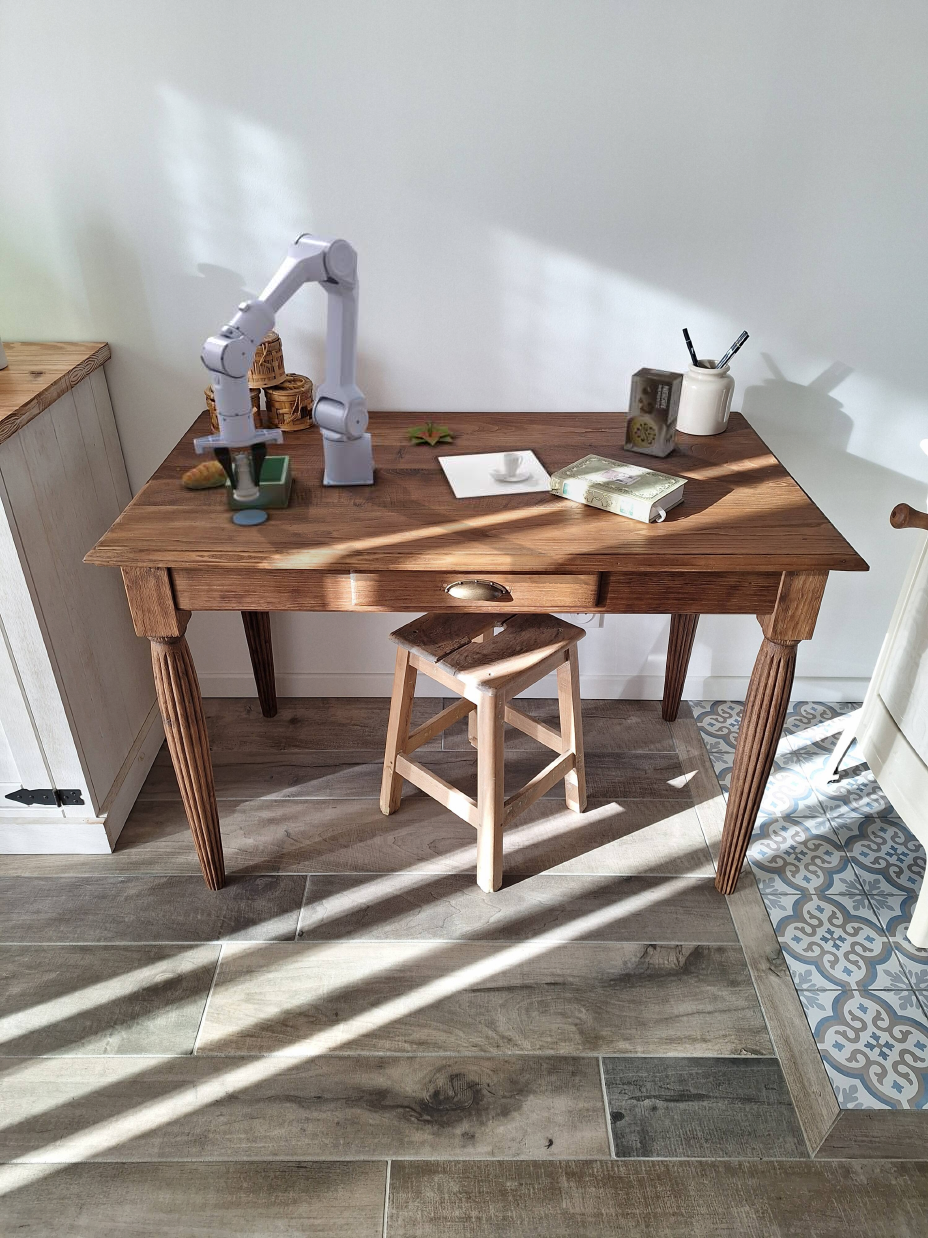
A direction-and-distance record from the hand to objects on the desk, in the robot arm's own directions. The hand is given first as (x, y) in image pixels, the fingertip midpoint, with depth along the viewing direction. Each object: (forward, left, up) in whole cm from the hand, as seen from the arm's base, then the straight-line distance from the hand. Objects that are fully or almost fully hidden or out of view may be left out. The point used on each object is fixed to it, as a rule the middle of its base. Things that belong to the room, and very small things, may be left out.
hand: (245, 485), depth 149 cm
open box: (-1, -10, -6) cm, 12 cm away
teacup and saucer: (-47, -17, -6) cm, 50 cm away
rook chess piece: (0, 0, -2) cm, 2 cm away
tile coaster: (0, 0, -6) cm, 6 cm away
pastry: (+9, -17, -6) cm, 20 cm away
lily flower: (-35, -37, -6) cm, 51 cm away
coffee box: (-81, -27, -6) cm, 85 cm away
